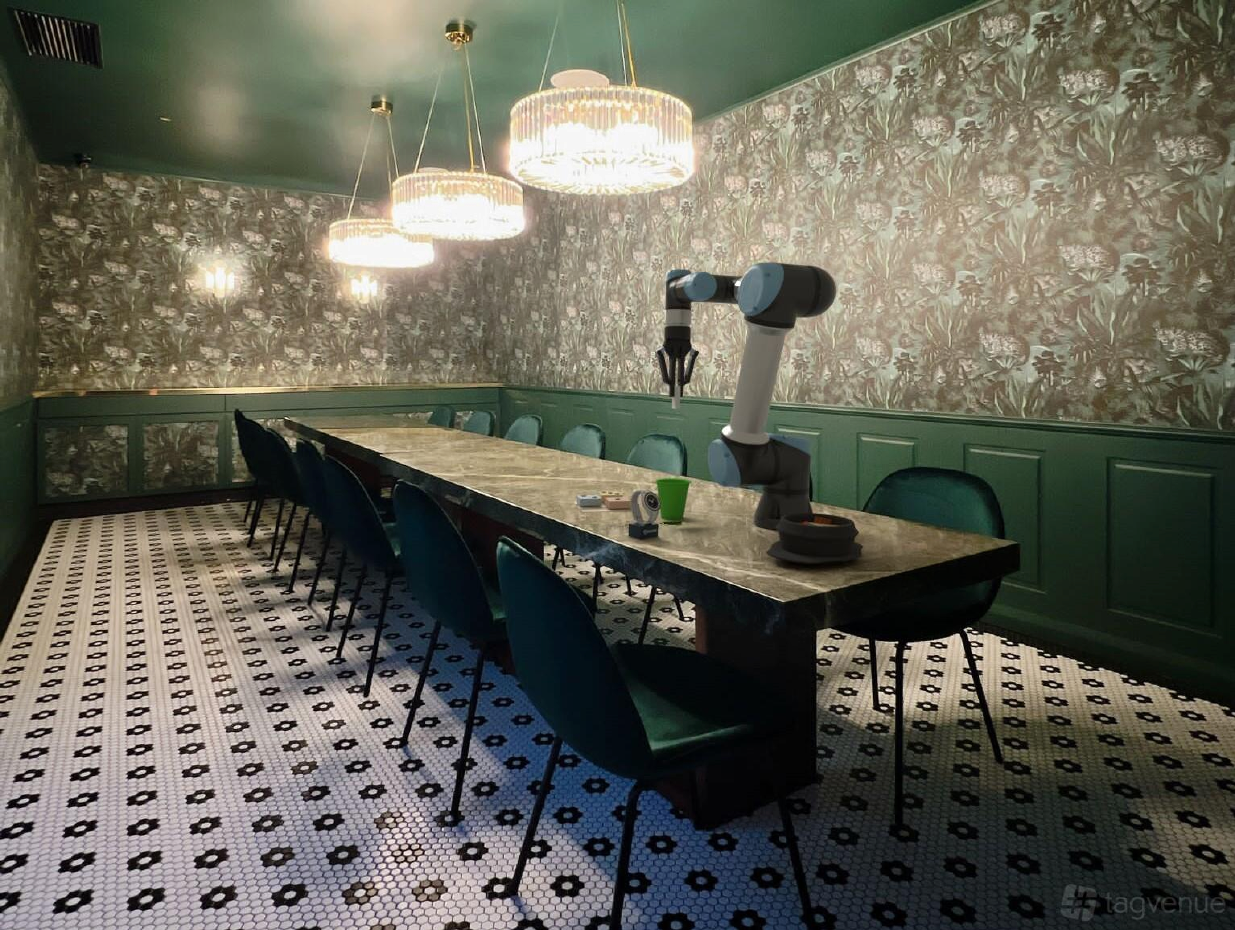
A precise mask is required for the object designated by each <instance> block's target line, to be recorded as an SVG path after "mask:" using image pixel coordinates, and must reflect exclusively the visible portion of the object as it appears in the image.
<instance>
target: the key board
mask: <svg viewBox="0 0 1235 930" xmlns="http://www.w3.org/2000/svg"><path fill="white" fill-rule="evenodd" d="M571 501H572V502H573V503H574V505H575V506H577V508H578V509H579V510H580V511H581V512H583V513H587V512H589V513H591V512H593V513H594V512H631V508H623V509H609V508H608V507H606V506H605V502H602V506H580V505H579V504H578V503H577V498H572V499H571Z"/></svg>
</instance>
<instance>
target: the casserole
mask: <svg viewBox="0 0 1235 930" xmlns="http://www.w3.org/2000/svg"><path fill="white" fill-rule="evenodd" d="M776 529H777V532H778V537H779V540H778V541H775V542H773V543H772V544H771V545H770V548H769V549H767V550H766V552H765V554H766V555H768V556H769V557H771V558H775V559H777V560H782V561H785V562H789V563H791V562H792V563H798V564H805V565H836V564H839V563H843V562H845V561H852V560H856V559H858V558H860V557H861V556H862V555H863V554H862V553H863V551H862V550H863V549H864V546H863V545H862V543H858V542H855V540H856V537H857V536H858V535H860V531H859V530H858V529H857V527H856V524H855V521H854V520H853V519H851V518H850V519H849V518H847V517H843V516H840V515H834V514H826V513H818V512H817V513H816V512H815V513H814V512H813V513H796V514H789V515H785V516H782V517H781V519H780V522H779V524H778V525H776ZM776 529H775V530H776Z"/></svg>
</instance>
